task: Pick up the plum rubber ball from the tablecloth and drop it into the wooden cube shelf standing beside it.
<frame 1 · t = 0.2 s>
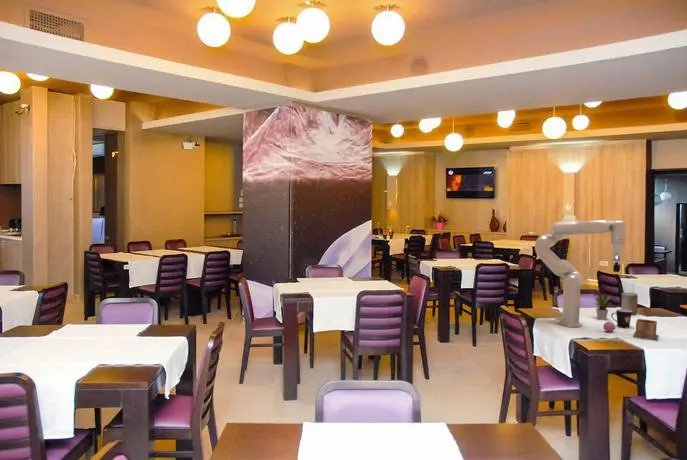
hand: (616, 270, 322), 36 cm above the table, tool pointing down, fingers open, 9 cm apart
plum ball: (608, 331, 322), on the table
pillar candle: (628, 314, 374), on the table
wooden cube shelf: (645, 336, 312), on the table
house plant: (599, 318, 357), on the table
coffee mug: (620, 326, 336), on the table
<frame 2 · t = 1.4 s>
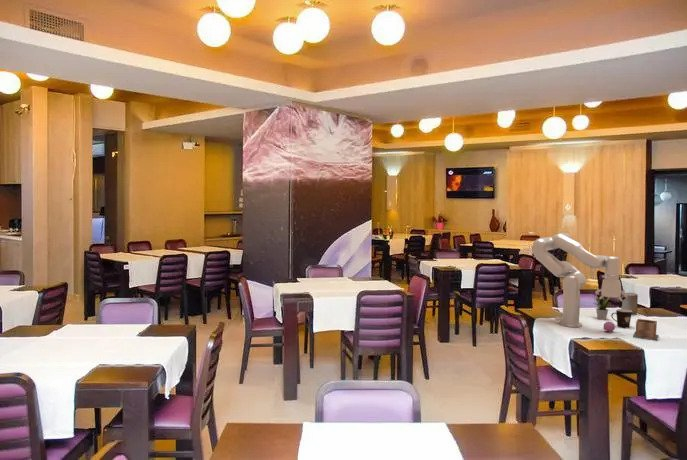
hand: (610, 306, 321), 15 cm above the table, tool pointing down, fingers open, 9 cm apart
nothing on the table moved.
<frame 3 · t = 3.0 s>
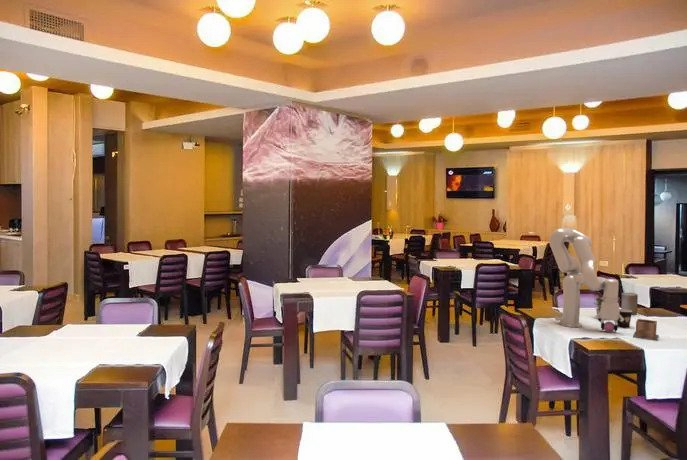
hand: (609, 330, 322), 1 cm above the table, tool pointing down, fingers closed on plum ball, 5 cm apart
plum ball: (608, 331, 322), on the table, touching gripper
everything else where it was.
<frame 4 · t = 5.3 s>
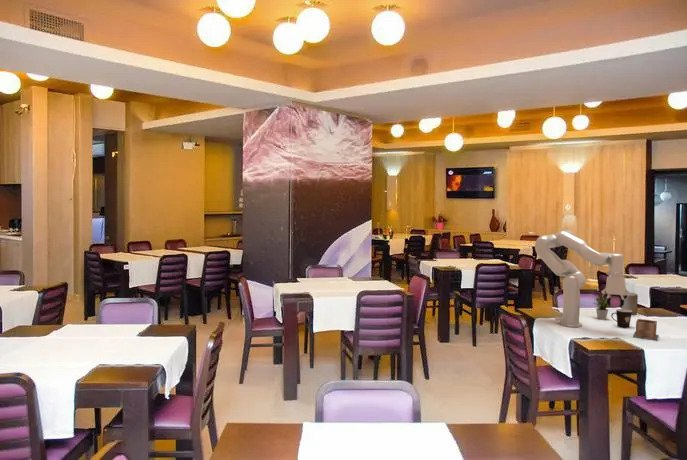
hand: (615, 305, 320), 16 cm above the table, tool pointing down, fingers closed on plum ball, 5 cm apart
plum ball: (615, 307, 320), point 15 cm above the table, touching gripper
everything else where it was.
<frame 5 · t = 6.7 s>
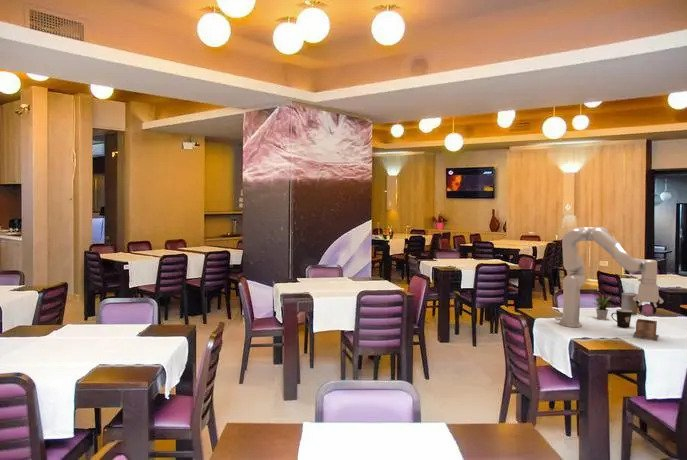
hand: (647, 312, 311), 14 cm above the table, tool pointing down, fingers closed on plum ball, 5 cm apart
plum ball: (647, 314, 311), point 13 cm above the table, touching gripper
everything else where it was.
when the fingers open (11 cm above the table, at t = 7.5 s): plum ball drops 9 cm, resting on wooden cube shelf.
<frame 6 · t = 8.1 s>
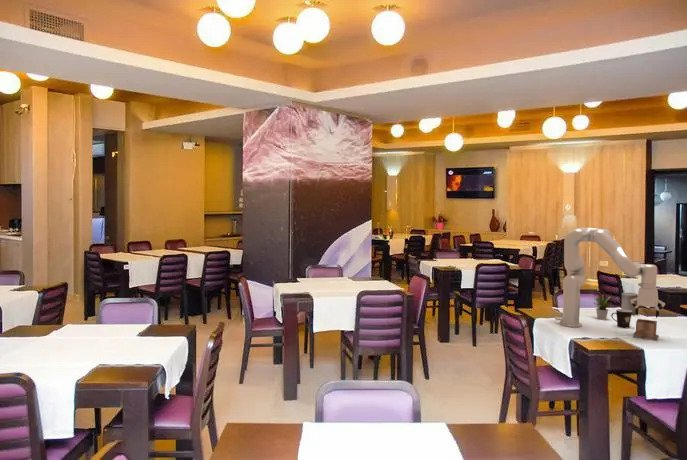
hand: (646, 316, 311), 12 cm above the table, tool pointing down, fingers open, 9 cm apart
plum ball: (645, 335, 312), point 1 cm above the table, touching wooden cube shelf
everything else where it was.
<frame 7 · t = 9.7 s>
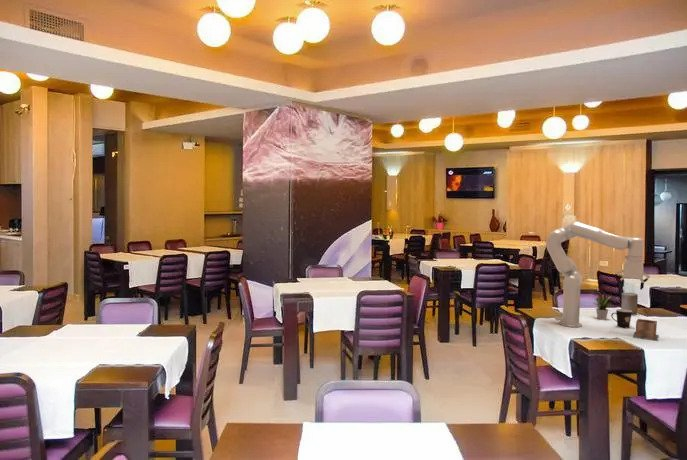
hand: (631, 288, 320), 26 cm above the table, tool pointing down, fingers open, 9 cm apart
nothing on the table moved.
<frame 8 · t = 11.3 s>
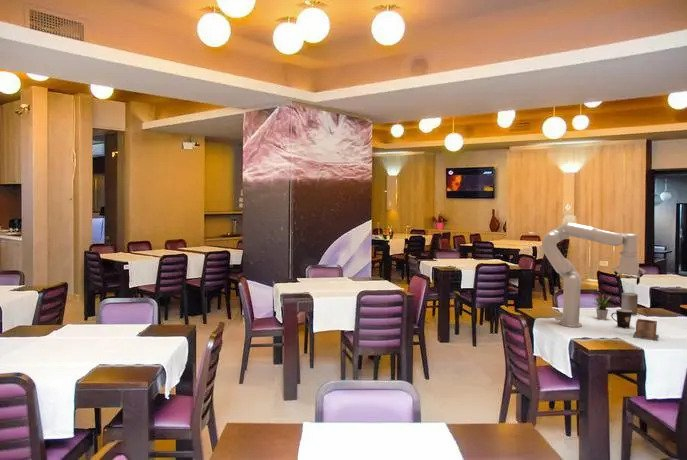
hand: (628, 283, 323), 28 cm above the table, tool pointing down, fingers open, 9 cm apart
nothing on the table moved.
at the end: plum ball 0.0 cm off-centre on the wooden cube shelf, point 0.8 cm above the wooden cube shelf's base; the gripper is holding nothing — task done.
